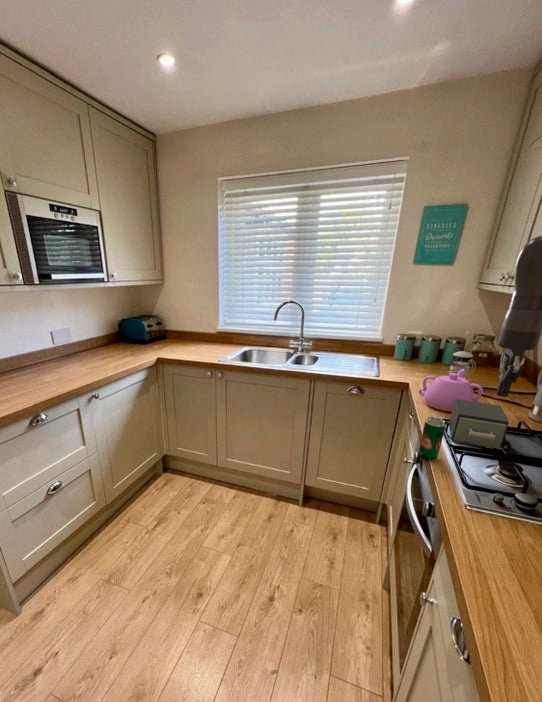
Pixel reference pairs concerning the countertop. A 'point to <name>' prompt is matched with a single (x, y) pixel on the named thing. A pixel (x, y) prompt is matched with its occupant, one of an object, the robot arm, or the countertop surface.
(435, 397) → the teapot
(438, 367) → the countertop surface
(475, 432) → the drawer
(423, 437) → the soda can
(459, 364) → the french press
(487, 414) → the cabinet
